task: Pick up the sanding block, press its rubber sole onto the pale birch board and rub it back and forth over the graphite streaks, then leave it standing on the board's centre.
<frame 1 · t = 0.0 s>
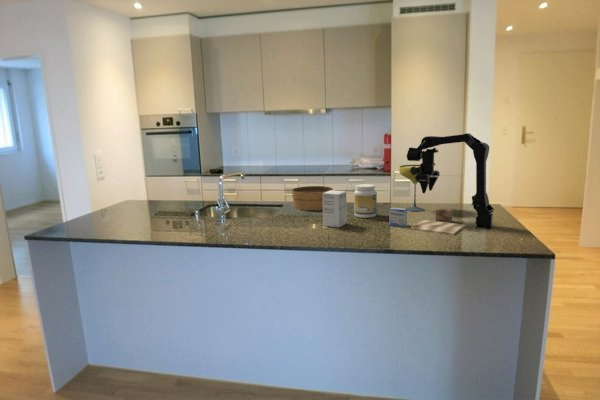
hand: (427, 191, 215), 15 cm above the countertop, tool pointing down, fingers open, 9 cm apart
medicine box: (398, 226, 208), on the countertop
steamer basket: (312, 207, 260), on the countertop
cocktail glass: (414, 209, 243), on the countertop
sanding block: (443, 221, 215), on the countertop
supplement tub: (365, 216, 231), on the countertop
birch board: (437, 227, 202), on the countertop
supplement box: (334, 225, 214), on the countertop
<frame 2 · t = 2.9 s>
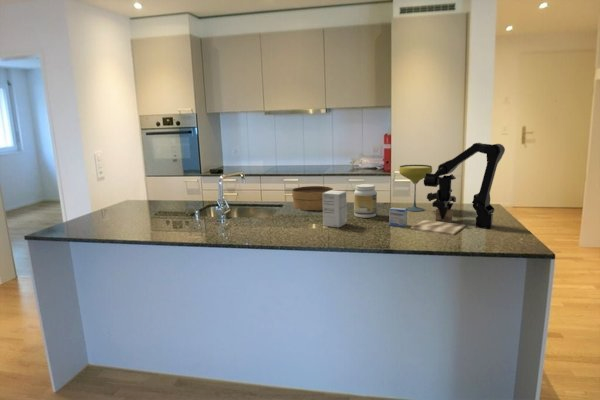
hand: (443, 218, 214), 2 cm above the countertop, tool pointing down, fingers closed on sanding block, 4 cm apart
sanding block: (443, 221, 215), on the countertop, touching gripper
everything else where it was.
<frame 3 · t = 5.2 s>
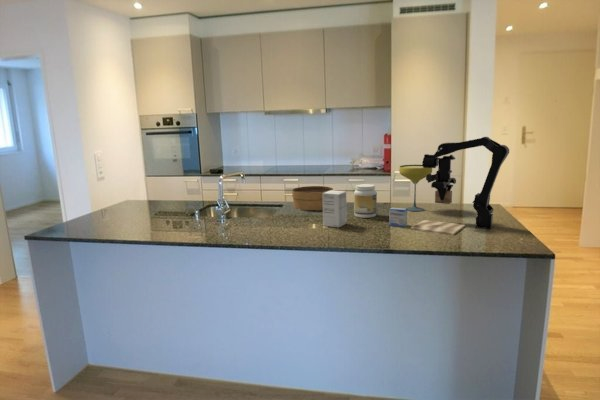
hand: (443, 199, 210), 11 cm above the countertop, tool pointing down, fingers closed on sanding block, 4 cm apart
sanding block: (443, 202, 211), point 10 cm above the countertop, touching gripper
everything else where it was.
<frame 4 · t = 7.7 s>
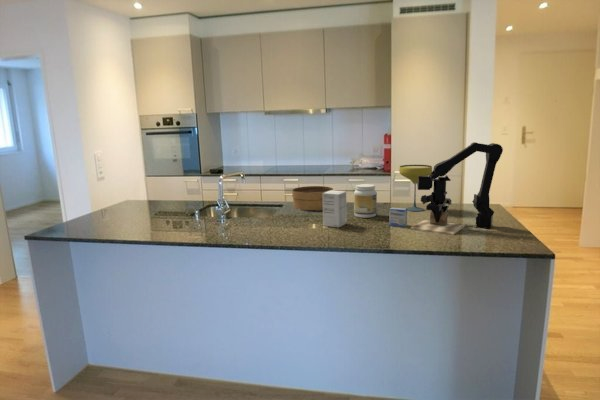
hand: (438, 221, 205), 2 cm above the countertop, tool pointing down, fingers closed on sanding block, 4 cm apart
sanding block: (438, 224, 205), point 1 cm above the countertop, touching birch board, gripper
everything else where it was.
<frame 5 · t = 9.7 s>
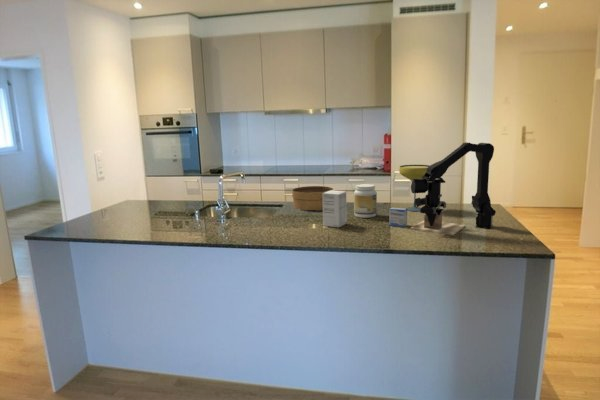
hand: (433, 225, 199), 2 cm above the countertop, tool pointing down, fingers closed on sanding block, 4 cm apart
sanding block: (432, 227, 199), point 1 cm above the countertop, touching birch board, gripper
everything else where it was.
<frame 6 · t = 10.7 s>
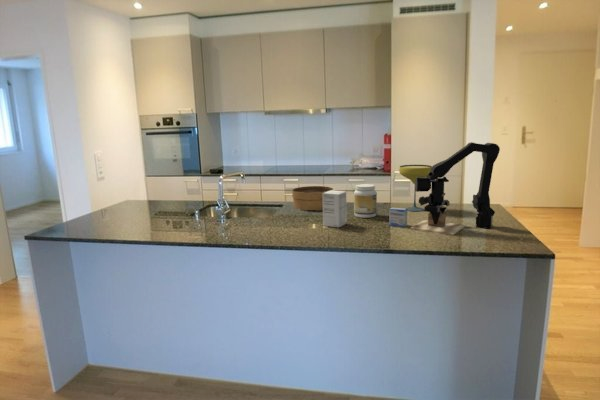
hand: (436, 223, 203), 2 cm above the countertop, tool pointing down, fingers closed on sanding block, 4 cm apart
sanding block: (436, 225, 203), point 1 cm above the countertop, touching gripper
everything else where it was.
when the fingers open (2 cm above the countertop, at t = 13.1 s): sanding block stays where it is, resting on birch board.
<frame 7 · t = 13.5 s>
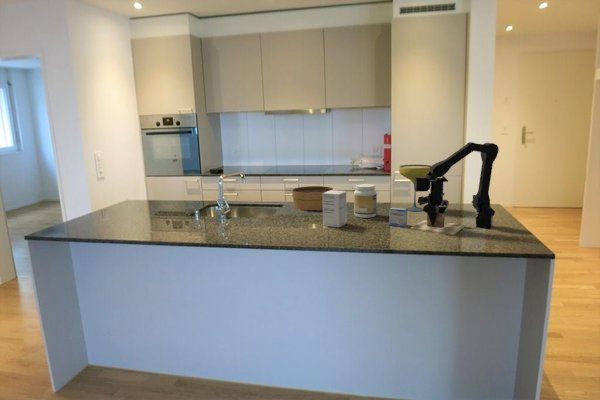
hand: (435, 223, 202), 2 cm above the countertop, tool pointing down, fingers open, 8 cm apart
sanding block: (435, 225, 202), point 1 cm above the countertop, touching birch board
everything else where it was.
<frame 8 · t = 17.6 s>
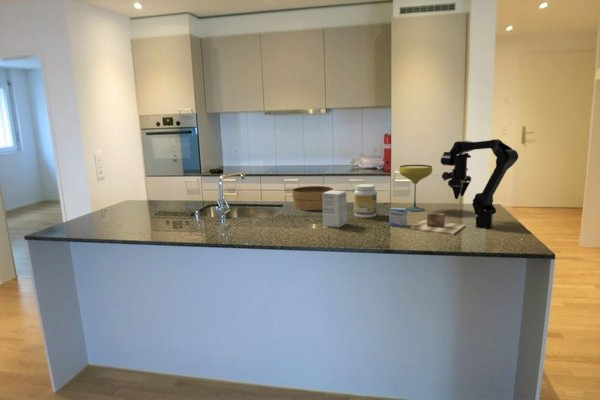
hand: (459, 197, 212), 12 cm above the countertop, tool pointing down, fingers open, 9 cm apart
nothing on the countertop moved.
at the end: sanding block inside the target area on the birch board (1.1 cm from its centre), point 0.8 cm above the birch board's base; sanding block tilted 0°; the gripper is holding nothing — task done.
